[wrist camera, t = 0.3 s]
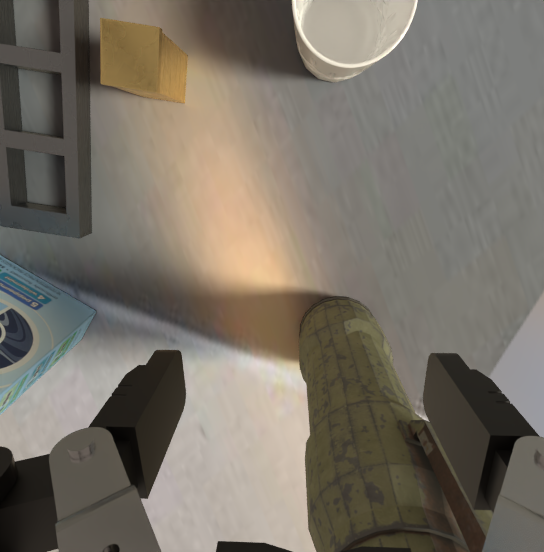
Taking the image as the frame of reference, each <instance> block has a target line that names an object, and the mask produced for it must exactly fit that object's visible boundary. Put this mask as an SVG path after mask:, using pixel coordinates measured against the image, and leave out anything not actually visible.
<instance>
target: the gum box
mask: <svg viewBox="0 0 544 552" xmlns="http://www.w3.org/2000/svg"><path fill="white" fill-rule="evenodd" d="M95 314H96V310H94V309H92V308H90V307H89V306H87V305H85V304H83V303H82V302H80V301H78V300H77V299H75V298H73V297H71V296H70V295H68V294H66V293H65V292H63V291H61V290H59V289H58V288H56V287H54V286H52V285H51V284H49V283H47V282H46V281H44V280H42V279H41V278H39V277H37V276H35V275H34V274H32V273H30V272H29V271H27V270H25V269H23V268H22V267H20V266H18V265H17V264H15V263H13V262H11V261H10V260H8V259H6V258H4V257H3V256H1V255H0V415H1V414H2V413H3V412H4V411H5V410H6V409H7V408H8V407H9V406H10V405H11V404H12V403H13V402H15V401H16V400H17V399H18V398H19V397H20V396H21V395H22V394H23V393H24V392H25V391H26V390H27V389H28V388H29V387H31V386H32V385H33V384H34V383H35V382H36V381H37V380H38V379H39V378H40V377H41V376H42V375H43V374H45V373H46V372H47V371H48V370H49V369H50V368H51V367H52V366H53V365H54V364H55V363H56V362H58V361H59V360H60V359H61V358H62V357H63V356H64V355H65V354H66V353H67V352H68V351H70V350H71V349H72V348H73V347H74V346H75V345H76V344H77V343H78V342H79V341H80V340H81V339H82V337H83V336H84V334H85V332H86V330H87V328H88V326H89V324H90V323H91V321H92V319H93V317H94V316H95Z"/></svg>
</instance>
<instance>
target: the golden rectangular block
mask: <svg viewBox="0 0 544 552" xmlns="http://www.w3.org/2000/svg"><path fill="white" fill-rule="evenodd" d="M100 56H101V84H102V85H106V86H112V87H116V88H119V89H122V90H124V91H127V92H130V93H133V94H136V95H139V96H142V97H147V98H153V99H160V100H166V101H173V102H179V103H185V90H186V74H187V58H188V55H187V54H185V53H184V52H183V51H182V50H181V49H180V48H179V47H178V46H177V45H176V44H174V43H173V42H172V41H171V40H170V39H169V38H168V37H167V36H166V35H165V34H163V33H162V29H161V28H160V27H155V26H148V25H142V24H136V23H129V22H123V21H117V20H110V19H104V18H100Z"/></svg>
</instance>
